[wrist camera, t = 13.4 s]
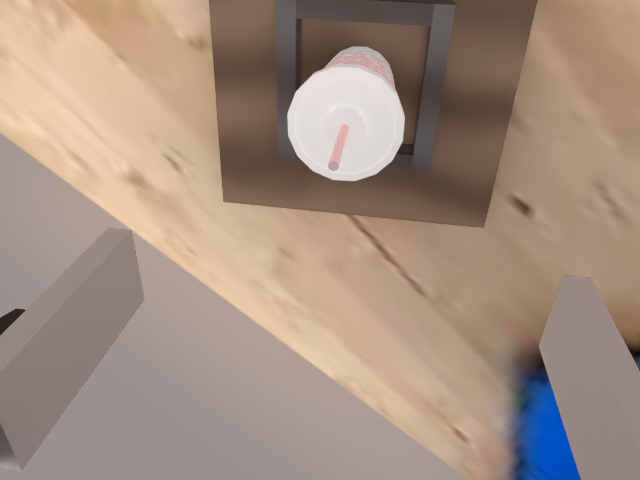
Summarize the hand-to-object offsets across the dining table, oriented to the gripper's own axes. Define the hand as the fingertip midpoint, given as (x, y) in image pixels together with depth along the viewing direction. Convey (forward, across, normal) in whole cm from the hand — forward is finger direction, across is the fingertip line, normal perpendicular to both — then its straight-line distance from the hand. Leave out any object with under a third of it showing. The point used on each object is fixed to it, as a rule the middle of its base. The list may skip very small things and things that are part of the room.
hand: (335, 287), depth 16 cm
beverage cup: (+22, +1, -1) cm, 22 cm away
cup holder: (+23, +1, -1) cm, 23 cm away
